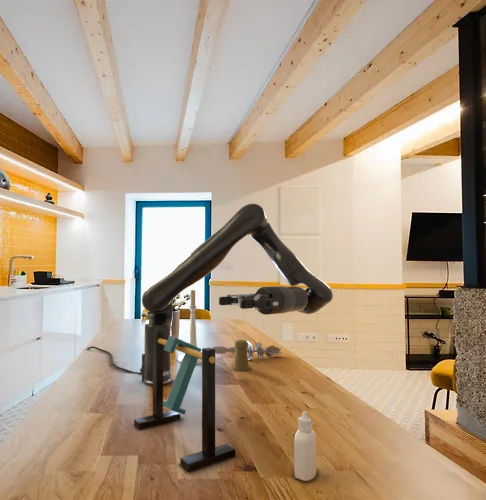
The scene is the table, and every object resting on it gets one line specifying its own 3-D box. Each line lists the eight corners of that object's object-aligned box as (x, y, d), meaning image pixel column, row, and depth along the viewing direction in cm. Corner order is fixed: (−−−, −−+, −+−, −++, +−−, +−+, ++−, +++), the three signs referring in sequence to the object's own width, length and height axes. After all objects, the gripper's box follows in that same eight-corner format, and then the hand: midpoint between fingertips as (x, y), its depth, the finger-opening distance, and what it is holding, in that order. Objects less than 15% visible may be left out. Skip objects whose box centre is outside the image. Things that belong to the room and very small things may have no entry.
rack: (174, 415, 101) (174, 329, 102) (235, 456, 80) (235, 347, 80) (134, 425, 95) (134, 333, 96) (188, 472, 73) (188, 353, 74)
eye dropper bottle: (286, 471, 74) (285, 409, 74) (309, 466, 76) (309, 405, 76) (301, 483, 70) (300, 418, 70) (325, 477, 72) (324, 414, 72)
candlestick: (171, 361, 157) (172, 289, 158) (188, 355, 168) (188, 287, 169) (198, 365, 150) (198, 290, 151) (213, 359, 161) (213, 288, 162)
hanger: (175, 409, 89) (197, 348, 93) (184, 414, 86) (207, 351, 90) (143, 398, 85) (168, 335, 89) (151, 403, 81) (176, 337, 85)
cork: (249, 371, 143) (249, 342, 143) (233, 370, 144) (233, 341, 145) (249, 366, 149) (249, 338, 149) (233, 366, 150) (233, 338, 151)
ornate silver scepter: (205, 341, 158) (215, 337, 152) (273, 344, 172) (284, 340, 165) (207, 361, 155) (217, 358, 148) (276, 361, 168) (287, 358, 162)
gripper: (257, 285, 111) (213, 286, 102) (295, 288, 98) (249, 289, 90) (257, 310, 110) (213, 314, 102) (295, 316, 98) (249, 321, 90)
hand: (230, 302), depth 96 cm, fingers open, 8 cm apart
